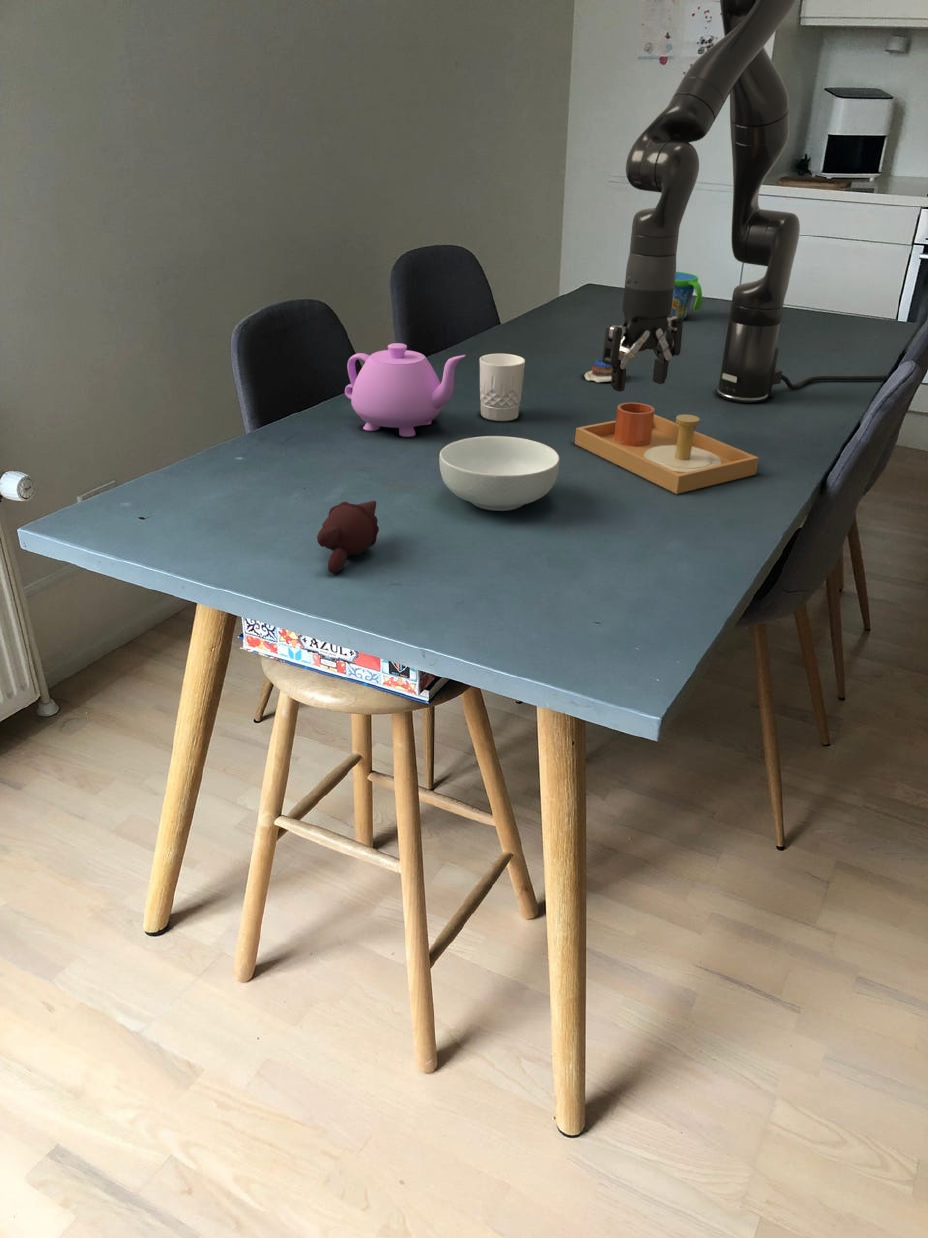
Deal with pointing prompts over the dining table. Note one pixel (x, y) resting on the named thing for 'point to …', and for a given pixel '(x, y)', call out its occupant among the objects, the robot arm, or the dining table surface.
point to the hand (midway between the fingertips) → (638, 386)
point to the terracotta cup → (634, 424)
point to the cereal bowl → (499, 471)
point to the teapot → (398, 389)
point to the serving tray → (632, 459)
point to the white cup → (501, 386)
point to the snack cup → (685, 294)
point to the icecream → (348, 531)
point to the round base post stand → (683, 450)
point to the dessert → (599, 372)
